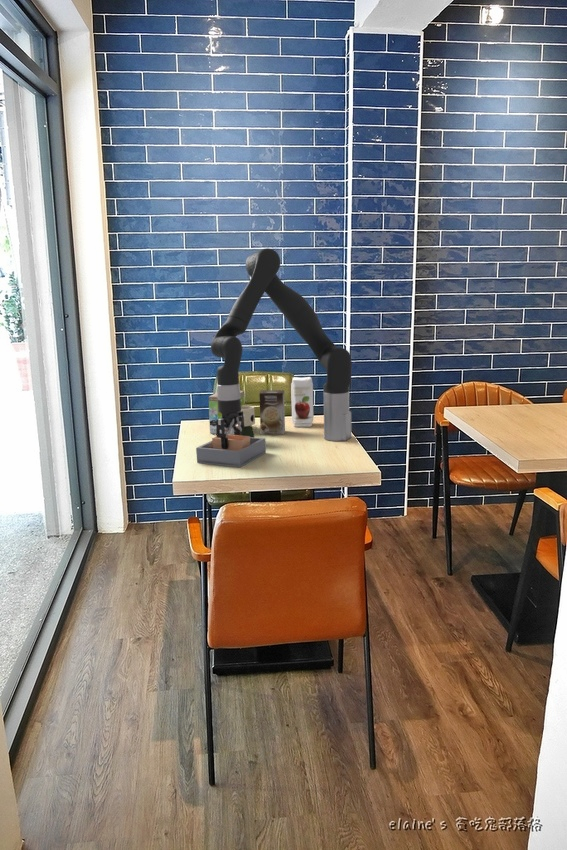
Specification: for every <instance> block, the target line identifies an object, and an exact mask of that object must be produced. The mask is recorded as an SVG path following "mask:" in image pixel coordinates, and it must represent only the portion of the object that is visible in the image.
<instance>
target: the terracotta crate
mask: <svg viewBox="0 0 567 850" xmlns="http://www.w3.org/2000/svg"><path fill="white" fill-rule="evenodd" d="M227 438H228V449H222V446H221V438H220V437H217V435H215V436H214V437H211V441H212V444H213V449H222V450H232V451H239V450H241V449H243V448H245V447H247V446H249V445H250V436H240V435H234V434H233V435H230V434H228V437H227Z"/></svg>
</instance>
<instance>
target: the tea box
mask: <svg viewBox="0 0 567 850" xmlns="http://www.w3.org/2000/svg"><path fill="white" fill-rule="evenodd" d="M245 395H246V393H245V390H240V396H241V406H246V396H245ZM208 417H209V420H208V421H209V434H211V435H213V434H214V435H217V433H216V419H221V418H222V414H221V413H220V412H219V411H218V398H217V392H215V393H214V394H211V395H210V396H208ZM220 432H221V430H220ZM225 433H226V432H225ZM229 435H234V429H233V428H232V429H231V431H230V432H229Z"/></svg>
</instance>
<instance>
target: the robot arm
mask: <svg viewBox="0 0 567 850" xmlns="http://www.w3.org/2000/svg"><path fill="white" fill-rule="evenodd" d="M280 267H281V258H280V255H279V254H278V252H277V251H276V250H275V249H273V248H269V247H268V248H266V247H265V248H263V249H260V250H258V251H255V252H253V253H251V254H250V255H248V257H247V258H246V260H245V270H246V271H247V274H248V275H249V277H250V280H249V281H248V283H247V284H246V286H245V288H244V289H243V290H242V291H241V293H240V294H239V296H238V298H236V301H235V302H234V304H233V305H232V308H231V310H230V312H229V314H228V316H227V318H226V321H225V322H224V323H223V324H222V325H221V327H220V328H219V329H218V330H217V332H216V333H215V335H214V336H213V338H211V339H212V340H211V343H210V351H211V353H212V355H213V356H215V357H217V358H222V359H223V358H224V362H223V364H222V365H220V366H218V367H217V369H216V383H217V384H216V385H217V388H216V393H217V398H218V411H219V412H220V413H221V414H222V418H221V419H216V433H217V434H216V436H217V437H220V438H221V446H222V449H228V438H227V437H228V434H229V432H230V431H231V429H232V428H233V429H234V434H233V435H240V436H241V431H242V428H244V416H243V411H241V396H240V391H241V388H240V378H239V377H240V376H239V373H240V372H239V370H240V366H241V361H242V357H243V345H242V342H241V340H240V339H239V338H238V337H237V336H240V335H243V334H244V333H245V332H246V331H247V328H248V326H249V324H250V322H251V320H252V318H253V315H254V313H255V311H256V309H257V307H258V305H259V303H260V301H261V298H262V297H263V295H264V293H265V294H266V295H267V296H268V297H269V299H270V300H271V301H272V302H273V304H274V305H275V306H276V307H277V308H278V310H279V311H280V312H281V313H282V315H283V316H284V318H285V320H287V322H288V324H290V326H291V327H292V328H293V330H295V331H296V333H297V334H298V335H299V336H300V337H301V339H302V340H303V341H304V342H305V343H306V344H307V345H308V346H309V347H310V350H311V351H312V352H313V354H314V355H315V357H316V358H317V361H318V362H319V364H320V365H321V366H322V368H323V369H324V370H325V371H326V382H325V383H323V387H322V389H323V436H324V437H323V438H324V439H325V440H327V441H331V442H336V441H339V442H340V441H344V442H345V441H348V440H350V438H352V411H350V387H351V383H352V367H353V364H352V356H351V354H350V352H349V351H348V349H346V348H343V347H339V346H337V345H336V344H335V343H334V342H333V341H332V340H331V339H330V337H329V336H328V335H327V334H326V333H325V331H324V329H323V327H322V325H321V322H320V320H319V317H318V315H317V313H316V312H315V310H314V309H313V308H312V307H311V305H310V303H309V302H308V300H306V299H305V298H304V296H302V295H301V294H300V293H299V292H297V291H295V290H294V289H292V288H290V287H289V286H288V285H287V284H285V283H284V282H283V281H282V279H280V278H279V276H278V275H277V273H278V272H279V270H280ZM239 421H240V422H241V424H240V422H239ZM220 430H221V432H220ZM225 432H226V433H225ZM229 435H230V434H229Z"/></svg>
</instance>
